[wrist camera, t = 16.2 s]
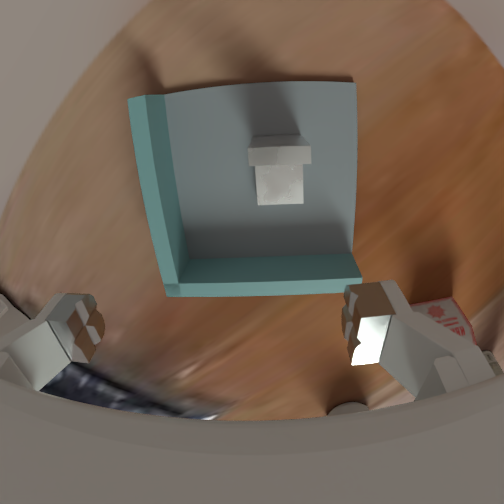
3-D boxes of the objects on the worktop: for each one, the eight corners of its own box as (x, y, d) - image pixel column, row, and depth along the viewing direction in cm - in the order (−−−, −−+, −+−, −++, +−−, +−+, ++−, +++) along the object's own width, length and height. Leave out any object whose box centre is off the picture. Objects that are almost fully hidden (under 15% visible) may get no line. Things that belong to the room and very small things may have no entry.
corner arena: (180, 268, 32) (167, 296, 28) (151, 97, 23) (127, 99, 19) (349, 263, 30) (360, 291, 26) (354, 83, 22) (372, 80, 17)
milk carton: (446, 317, 34) (475, 371, 25) (403, 326, 35) (428, 385, 26) (452, 296, 32) (486, 350, 23) (407, 304, 33) (437, 364, 24)
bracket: (253, 135, 24) (247, 148, 18) (300, 133, 24) (310, 145, 18) (258, 200, 27) (254, 233, 21) (302, 199, 27) (311, 231, 21)
